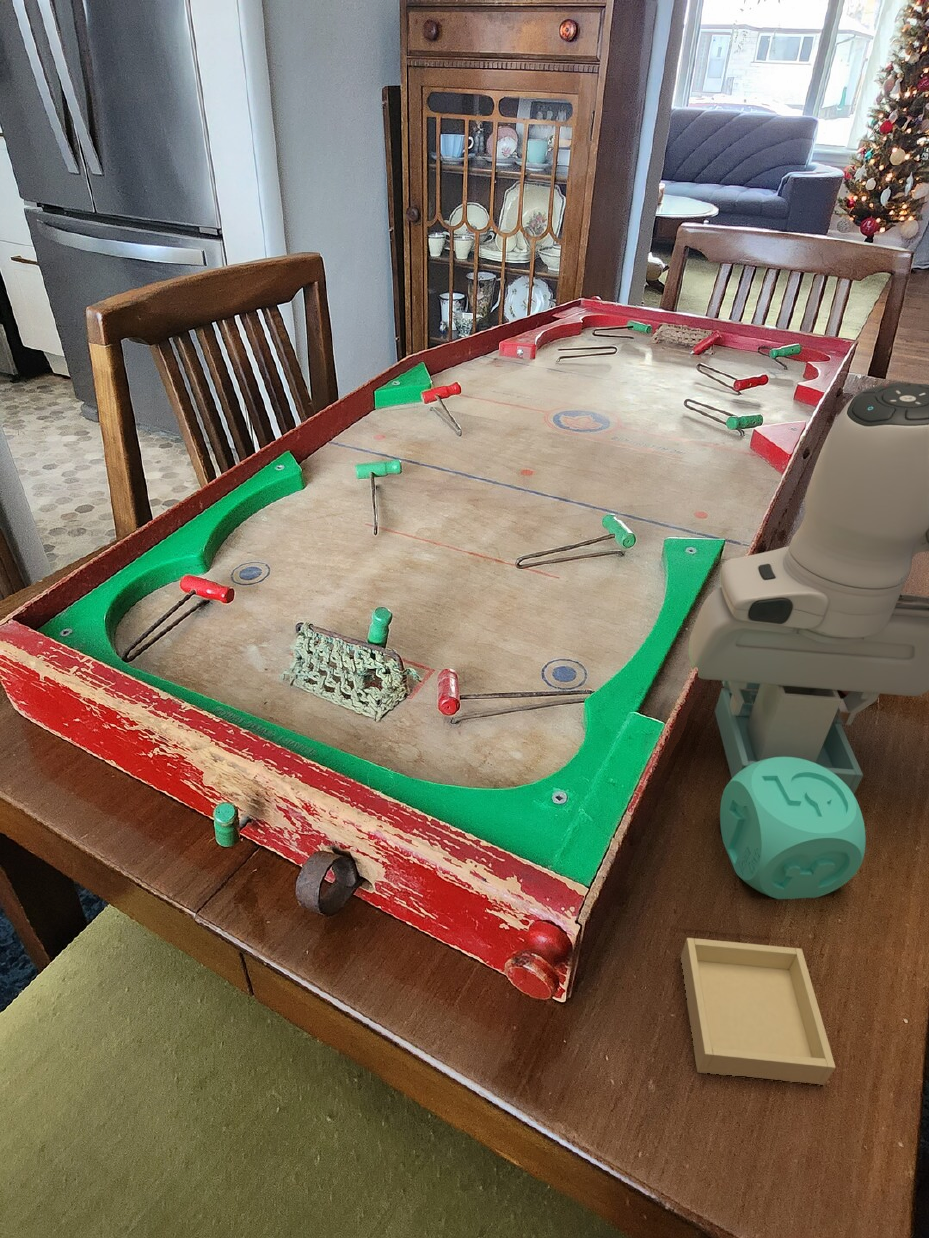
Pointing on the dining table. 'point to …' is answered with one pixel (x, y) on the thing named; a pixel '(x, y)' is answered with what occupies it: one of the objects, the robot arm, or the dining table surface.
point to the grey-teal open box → (740, 753)
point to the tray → (754, 1012)
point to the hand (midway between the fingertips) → (788, 715)
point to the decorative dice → (792, 828)
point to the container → (791, 721)
